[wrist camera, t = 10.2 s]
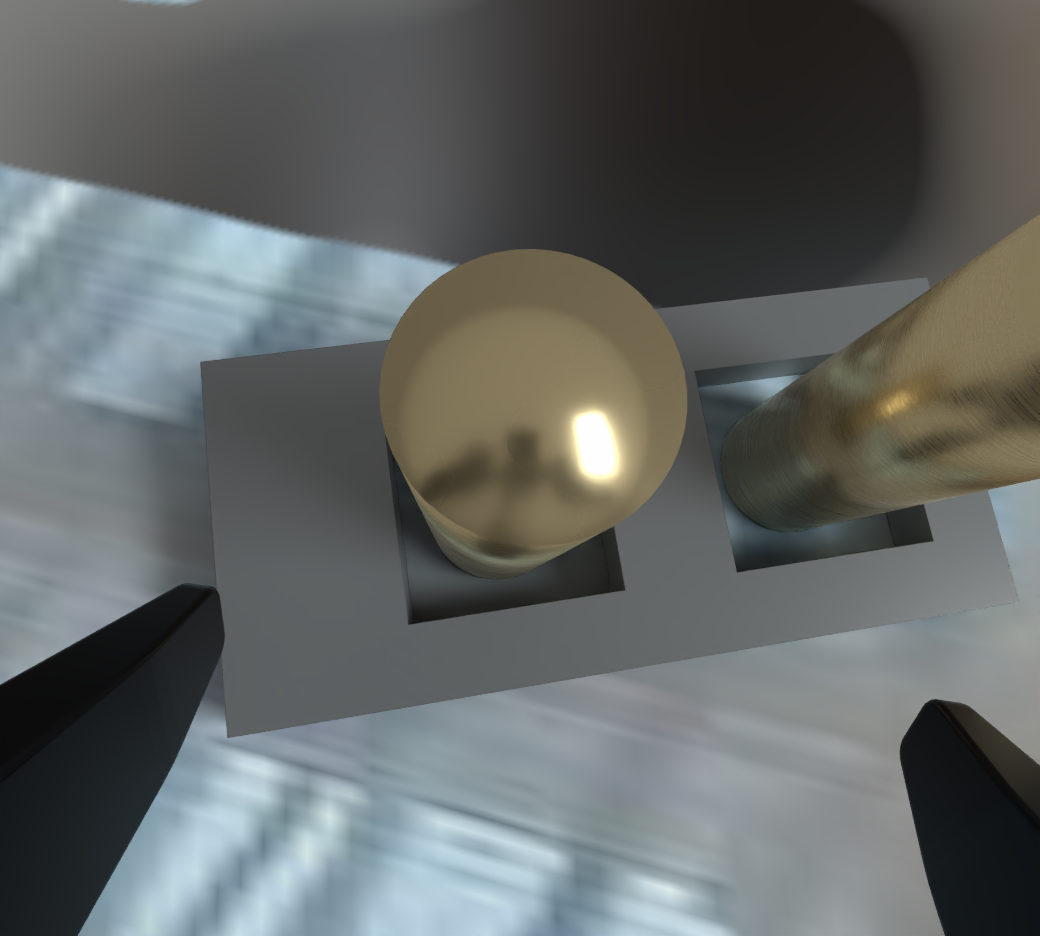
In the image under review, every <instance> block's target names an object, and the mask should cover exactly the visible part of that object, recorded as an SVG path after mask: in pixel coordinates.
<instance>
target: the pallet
mask: <svg viewBox="0 0 1040 936" xmlns="http://www.w3.org/2000/svg"><path fill="white" fill-rule="evenodd" d="M929 289H930V286H929V283H928V279H927V278H919V279H911V280H901V281H893V282H884V283H876V284H867V285H858V286H850V287H841V288H833V289H824V290H816V291H807V292H799V293H790V294H781V295H773V296H764V297H755V298H747V299H738V300H730V301H721V302H712V303H703V304H695V305H686V306H678V307H669V308H660V309H655V311H656V312H657V313H658V315H659V316H660V317H661V319H662V320H663V322H664V323H665V325H666V327H667V329H668V330H669V332H670V334H671V335H672V337H673V340H674V342H675V345H676V347H677V349H678V352H679V354H680V358H681V361H682V365H683V369H684V372H685V379H686V387H687V416H686V424H685V431H684V434H683V438H682V442H681V445H680V449H679V451H678V453H677V456H676V458H675V460H674V463H673V465H672V467H671V469H670V470H669V472H668V474H667V475H666V477H665V479H664V480H663V482H662V483H661V485H660V486H659V487H658V488H657V490H656V491H655V492H654V493H653V495H652V496H651V497H650V498H649V499H648V500H647V501H646V502H645V503H644V504H643V505H642V506H641V507H640V508H639V509H638V510H636V511H635V512H634V513H633V514H631V515H630V516H628V517H627V518H626V519H624V520H623V521H621V522H620V523H619V524H617V525H615V526H613V527H611V528H609V529H607V530H606V531H604V532H602V539H603V544H604V550H605V556H606V561H607V567H608V573H609V578H610V584H611V590H612V592H606V593H600V594H593V595H587V596H581V597H574V598H568V599H562V600H556V601H549V602H543V603H537V604H531V605H524V606H518V607H512V608H505V609H499V610H493V611H487V612H480V613H474V614H468V615H461V616H455V617H449V618H443V619H436V620H430V621H424V622H417V623H413V615H412V607H411V599H410V591H409V583H408V575H407V566H406V558H405V550H404V542H403V534H402V526H401V518H400V510H399V501H398V493H397V485H396V477H395V469H394V461H393V453H392V451H391V449H390V446H389V443H388V440H387V437H386V434H385V431H384V427H383V421H382V416H381V411H380V392H379V390H380V379H381V370H382V365H383V361H384V357H385V352H386V350H387V347H388V344H389V342H390V340H385V341H376V342H368V343H359V344H351V345H342V346H333V347H325V348H316V349H308V350H299V351H290V352H282V353H273V354H265V355H256V356H247V357H239V358H230V359H222V360H213V361H204V362H200V364H201V378H202V392H203V406H204V420H205V434H206V447H207V461H208V475H209V489H210V503H211V517H212V531H213V545H214V559H215V573H216V587H217V591H218V593H219V595H220V600H221V608H222V616H223V623H224V631H225V642H224V647H223V650H222V653H221V656H222V670H223V684H224V698H225V712H226V726H227V738H231V737H236V736H242V735H248V734H254V733H260V732H266V731H271V730H277V729H283V728H289V727H295V726H301V725H306V724H312V723H318V722H324V721H330V720H335V719H341V718H347V717H353V716H359V715H365V714H370V713H376V712H382V711H388V710H394V709H400V708H405V707H411V706H417V705H423V704H429V703H435V702H440V701H446V700H452V699H458V698H464V697H469V696H475V695H481V694H487V693H493V692H499V691H504V690H510V689H516V688H522V687H528V686H534V685H539V684H545V683H551V682H557V681H563V680H568V679H574V678H580V677H586V676H592V675H598V674H603V673H609V672H615V671H621V670H627V669H633V668H638V667H644V666H650V665H656V664H662V663H667V662H673V661H679V660H685V659H691V658H697V657H702V656H708V655H714V654H720V653H726V652H732V651H737V650H743V649H749V648H755V647H761V646H767V645H772V644H778V643H784V642H790V641H796V640H801V639H807V638H813V637H819V636H825V635H831V634H836V633H842V632H848V631H854V630H860V629H866V628H871V627H877V626H883V625H889V624H895V623H900V622H906V621H912V620H918V619H924V618H930V617H935V616H941V615H947V614H953V613H959V612H965V611H970V610H976V609H982V608H988V607H994V606H999V605H1005V604H1011V603H1017V602H1019V599H1018V595H1017V592H1016V588H1015V585H1014V581H1013V578H1012V574H1011V571H1010V567H1009V564H1008V560H1007V557H1006V553H1005V550H1004V546H1003V543H1002V539H1001V535H1000V532H999V528H998V525H997V521H996V518H995V514H994V511H993V507H992V504H991V500H990V497H989V493H988V490H985V491H981V492H976V493H972V494H967V495H963V496H958V497H953V498H949V499H944V500H940V501H935V502H931V503H926V504H922V505H917V506H912V507H908V508H903V509H899V510H894V511H890V512H886V514H887V517H888V521H889V525H890V529H891V533H892V537H893V541H894V545H895V547H889V548H882V549H876V550H870V551H863V552H857V553H851V554H845V555H838V556H832V557H826V558H819V559H813V560H807V561H801V562H794V563H788V564H782V565H775V566H769V567H763V568H757V569H750V570H744V571H738V572H737V570H736V566H735V561H734V556H733V551H732V547H731V542H730V537H729V532H728V528H727V523H726V518H725V514H724V509H723V504H722V499H721V495H720V490H719V485H718V480H717V476H716V471H715V466H714V462H713V457H712V452H711V447H710V443H709V438H708V433H707V428H706V424H705V419H704V414H703V409H702V405H701V400H700V395H699V391H698V387H703V386H711V385H719V384H726V383H734V382H742V381H750V380H757V379H765V378H773V377H781V376H788V375H796V374H804V373H808V372H809V371H810V370H812V369H813V368H815V367H816V366H818V365H819V364H821V363H822V362H824V361H825V360H827V359H828V358H829V357H831V356H832V355H834V354H835V353H837V352H838V351H840V350H841V349H843V348H844V347H846V346H847V345H849V344H850V343H851V342H853V341H854V340H856V339H857V338H859V337H860V336H862V335H863V334H865V333H866V332H868V331H869V330H871V329H872V328H873V327H875V326H876V325H878V324H879V323H881V322H882V321H884V320H885V319H887V318H888V317H890V316H891V315H893V314H894V313H895V312H897V311H898V310H900V309H901V308H903V307H904V306H906V305H907V304H909V303H910V302H912V301H913V300H915V299H916V298H917V297H919V296H920V295H922V294H923V293H925V292H926V291H928V290H929Z"/></svg>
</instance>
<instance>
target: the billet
mask: <svg viewBox="0 0 1040 936" xmlns="http://www.w3.org/2000/svg"><path fill="white" fill-rule="evenodd" d="M721 471H722V477H723V481H724V484H725V487H726V489H727V492H728V494H729V495H730V497H731V499H732V500H733V502H734V503H735V504H736V506H737V507H738V508H739V509H740V510H741V511H742V512H743V513H744V514H745V515H746V516H747V517H748V518H750V519H751V520H753V521H754V522H756V523H757V524H759V525H761V526H764V527H766V528H769V529H772V530H776V531H781V532H799V531H803V530H808V529H812V528H817V527H822V526H826V525H831V524H835V523H840V522H844V521H849V520H853V519H858V518H862V517H867V516H872V515H876V514H881V513H885V512H890V511H894V510H899V509H903V508H908V507H912V506H917V505H922V504H926V503H931V502H935V501H940V500H944V499H949V498H953V497H958V496H963V495H967V494H972V493H976V492H981V491H985V490H990V489H994V488H999V487H1003V486H1008V485H1013V484H1017V483H1022V482H1026V481H1031V480H1035V479H1040V214H1039V215H1038V216H1036V217H1035V218H1033V219H1032V220H1030V221H1029V222H1027V223H1026V224H1024V225H1023V226H1021V227H1020V228H1019V229H1017V230H1016V231H1014V232H1013V233H1011V234H1010V235H1008V236H1007V237H1005V238H1004V239H1003V240H1001V241H1000V242H998V243H997V244H995V245H994V246H992V247H991V248H989V249H988V250H986V251H985V252H983V253H982V254H980V255H979V256H978V257H976V258H975V259H973V260H972V261H970V262H969V263H967V264H966V265H964V266H963V267H961V268H960V269H959V270H957V271H956V272H954V273H953V274H951V275H950V276H948V277H947V278H945V279H944V280H942V281H941V282H939V283H938V284H936V285H935V286H934V287H932V288H931V289H929V290H928V291H926V292H925V293H923V294H922V295H920V296H919V297H917V298H916V299H915V300H913V301H912V302H910V303H909V304H907V305H906V306H904V307H903V308H901V309H900V310H898V311H897V312H895V313H894V314H893V315H891V316H890V317H888V318H887V319H885V320H884V321H882V322H881V323H879V324H878V325H876V326H875V327H873V328H872V329H871V330H869V331H868V332H866V333H865V334H863V335H862V336H860V337H859V338H857V339H856V340H854V341H853V342H851V343H850V344H849V345H847V346H846V347H844V348H843V349H841V350H840V351H838V352H837V353H835V354H834V355H832V356H831V357H829V358H828V359H827V360H825V361H824V362H822V363H821V364H819V365H818V366H816V367H815V368H813V369H812V370H810V371H809V372H808V373H806V374H805V375H803V376H802V377H800V378H799V379H797V380H796V381H794V382H793V383H791V384H790V385H788V386H787V387H786V388H784V389H783V390H781V391H780V392H778V393H777V394H775V395H774V396H772V397H771V398H769V399H768V400H766V401H765V402H764V403H762V404H761V405H759V406H758V407H756V408H755V409H753V410H752V411H750V412H749V413H747V414H746V415H745V416H743V417H742V418H741V419H740V420H739V421H737V422H736V423H735V425H734V426H733V427H732V428H731V430H730V432H729V433H728V435H727V437H726V439H725V442H724V445H723V449H722V454H721Z"/></svg>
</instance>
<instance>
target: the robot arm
mask: <svg viewBox="0 0 1040 936" xmlns="http://www.w3.org/2000/svg"><path fill="white" fill-rule="evenodd" d="M224 642H225V631H224V623H223V616H222V608H221V600H220V595H219V593H218V591H217V590H216V589H215V588H213V587H209V586H203V585H196V584H190V583H186V584H181V585H179V586H177V587H175V588H173V589H171V590H170V591H168V592H166V593H164V594H162V595H161V596H159V597H157V598H155V599H153V600H152V601H150V602H148V603H146V604H144V605H143V606H141V607H139V608H137V609H135V610H134V611H132V612H130V613H128V614H126V615H125V616H123V617H121V618H119V619H117V620H116V621H114V622H112V623H110V624H108V625H107V626H105V627H103V628H101V629H99V630H98V631H96V632H94V633H92V634H90V635H89V636H87V637H85V638H83V639H82V640H80V641H78V642H76V643H74V644H73V645H71V646H69V647H67V648H65V649H64V650H62V651H60V652H58V653H56V654H55V655H53V656H51V657H49V658H47V659H46V660H44V661H42V662H40V663H38V664H37V665H35V666H33V667H31V668H29V669H28V670H26V671H24V672H22V673H20V674H19V675H17V676H15V677H13V678H11V679H10V680H8V681H6V682H4V683H2V684H1V685H0V936H78V934H79V932H80V931H81V929H82V927H83V925H84V923H85V922H86V920H87V918H88V916H89V914H90V913H91V911H92V909H93V907H94V906H95V904H96V902H97V900H98V898H99V897H100V895H101V893H102V891H103V890H104V888H105V886H106V884H107V882H108V881H109V879H110V877H111V875H112V874H113V872H114V870H115V868H116V866H117V865H118V863H119V861H120V859H121V858H122V856H123V854H124V852H125V850H126V849H127V847H128V845H129V843H130V842H131V840H132V838H133V836H134V834H135V833H136V831H137V829H138V827H139V826H140V824H141V822H142V820H143V818H144V817H145V815H146V813H147V811H148V810H149V808H150V806H151V804H152V802H153V801H154V799H155V797H156V795H157V794H158V792H159V790H160V788H161V786H162V785H163V783H164V781H165V779H166V777H167V775H168V773H169V771H170V770H171V768H172V766H173V764H174V762H175V759H176V757H177V755H178V753H179V751H180V749H181V746H182V744H183V742H184V739H185V737H186V735H187V732H188V730H189V728H190V725H191V723H192V721H193V719H194V716H195V714H196V712H197V709H198V707H199V705H200V702H201V700H202V698H203V695H204V693H205V691H206V688H207V686H208V684H209V681H210V679H211V677H212V674H213V672H214V670H215V667H216V665H217V663H218V660H219V658H220V656H221V653H222V650H223V647H224ZM900 761H901V766H902V770H903V775H904V779H905V784H906V788H907V793H908V797H909V802H910V806H911V811H912V815H913V820H914V824H915V828H916V833H917V837H918V842H919V846H920V851H921V855H922V860H923V864H924V868H925V872H926V876H927V880H928V884H929V887H930V890H931V894H932V897H933V900H934V904H935V907H936V910H937V913H938V916H939V919H940V922H941V925H942V928H943V931H944V934H945V936H1040V765H1039V764H1037V763H1036V762H1035V761H1034V760H1033V759H1031V758H1030V757H1029V756H1028V755H1027V754H1025V753H1024V752H1023V751H1022V750H1021V749H1020V748H1018V747H1017V746H1016V745H1015V744H1014V743H1012V742H1011V741H1010V740H1009V739H1008V738H1006V737H1005V736H1004V735H1003V734H1002V733H1001V732H999V731H998V730H997V729H996V728H995V727H993V726H992V725H991V724H990V723H989V722H987V721H986V720H985V719H984V718H983V717H981V716H980V715H979V714H978V713H977V712H976V711H974V710H973V709H972V708H970V707H969V706H967V705H965V704H962V703H957V702H951V701H944V700H938V699H934V700H930V701H928V702H927V703H925V705H924V706H923V707H922V709H921V710H920V712H919V714H918V715H917V717H916V718H915V720H914V722H913V723H912V725H911V726H910V728H909V730H908V731H907V733H906V734H905V736H904V738H903V740H902V742H901V746H900Z"/></svg>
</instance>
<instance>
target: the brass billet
mask: <svg viewBox="0 0 1040 936" xmlns="http://www.w3.org/2000/svg"><path fill="white" fill-rule="evenodd" d="M379 392H380V411H381V416H382V421H383V427H384V431H385V434H386V437H387V440H388V443H389V446H390V449H391V451H392V453H393V455H394V457H395V459H396V461H397V463H398V465H399V467H400V469H401V471H402V473H403V475H404V477H405V479H406V481H407V483H408V485H409V487H410V489H411V491H412V493H413V495H414V497H415V499H416V501H417V503H418V505H419V507H420V509H421V511H422V513H423V516H424V518H425V520H426V522H427V524H428V526H429V528H430V530H431V532H432V534H433V536H434V538H435V540H436V542H437V544H438V546H439V547H440V549H441V550H442V552H443V553H444V554H445V555H446V557H447V558H448V559H449V560H450V561H451V562H453V563H454V564H455V565H456V566H457V567H459V568H461V569H462V570H464V571H466V572H468V573H470V574H472V575H475V576H478V577H481V578H487V579H509V578H513V577H517V576H520V575H523V574H525V573H527V572H529V571H531V570H533V569H535V568H537V567H538V566H540V565H542V564H544V563H546V562H548V561H550V560H551V559H553V558H555V557H557V556H559V555H561V554H563V553H565V552H566V551H568V550H570V549H572V548H574V547H576V546H578V545H579V544H581V543H583V542H585V541H587V540H589V539H591V538H592V537H594V536H596V535H598V534H600V533H602V532H604V531H606V530H607V529H609V528H611V527H613V526H615V525H617V524H619V523H620V522H621V521H623V520H624V519H626V518H627V517H628V516H630V515H631V514H633V513H634V512H635V511H636V510H638V509H639V508H640V507H641V506H642V505H643V504H644V503H645V502H646V501H647V500H648V499H649V498H650V497H651V496H652V495H653V493H654V492H655V491H656V490H657V488H658V487H659V486H660V485H661V483H662V482H663V480H664V479H665V477H666V475H667V474H668V472H669V470H670V469H671V467H672V465H673V463H674V460H675V458H676V456H677V453H678V451H679V449H680V445H681V442H682V438H683V434H684V431H685V424H686V416H687V387H686V379H685V372H684V369H683V365H682V361H681V358H680V354H679V352H678V349H677V347H676V345H675V342H674V340H673V337H672V335H671V334H670V332H669V330H668V329H667V327H666V325H665V323H664V322H663V320H662V319H661V317H660V316H659V315H658V313H657V312H656V311H655V309H654V308H653V307H652V305H651V304H650V303H649V302H648V301H647V300H646V299H645V298H644V297H643V296H642V295H641V294H640V293H639V292H638V291H637V290H636V289H635V288H633V287H632V286H631V285H630V284H628V283H627V282H626V281H625V280H623V279H622V278H620V277H618V276H617V275H616V274H614V273H612V272H611V271H609V270H607V269H606V268H604V267H601V266H600V265H597V264H595V263H593V262H591V261H589V260H586V259H583V258H580V257H577V256H574V255H571V254H566V253H561V252H556V251H550V250H538V249H522V250H509V251H504V252H497V253H492V254H489V255H485V256H482V257H479V258H475V259H473V260H471V261H468V262H466V263H464V264H462V265H459V266H457V267H456V268H454V269H452V270H451V271H449V272H447V273H446V274H444V275H442V276H441V277H440V278H438V279H437V280H436V281H434V282H433V283H432V284H431V285H429V286H428V287H427V288H426V289H425V290H424V291H423V292H422V293H421V294H420V295H419V296H418V297H417V298H416V299H415V300H414V301H413V302H412V304H411V305H410V306H409V308H408V309H407V311H406V312H405V313H404V315H403V316H402V317H401V319H400V321H399V323H398V325H397V327H396V328H395V330H394V332H393V334H392V336H391V339H390V342H389V344H388V347H387V350H386V352H385V357H384V361H383V365H382V370H381V379H380V390H379Z"/></svg>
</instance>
